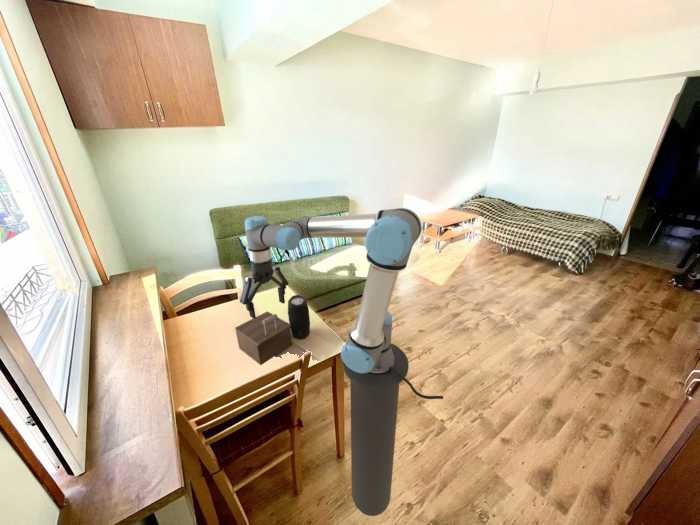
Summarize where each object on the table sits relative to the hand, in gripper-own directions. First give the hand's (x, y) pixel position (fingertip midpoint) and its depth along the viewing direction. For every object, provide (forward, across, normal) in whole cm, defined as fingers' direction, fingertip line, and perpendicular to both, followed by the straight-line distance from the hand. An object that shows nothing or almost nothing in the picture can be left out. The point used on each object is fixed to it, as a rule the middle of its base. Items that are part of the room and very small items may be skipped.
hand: (268, 309), depth 109 cm
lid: (+11, 0, -6) cm, 13 cm away
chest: (+22, 0, -6) cm, 22 cm away
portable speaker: (+21, -15, 0) cm, 26 cm away
